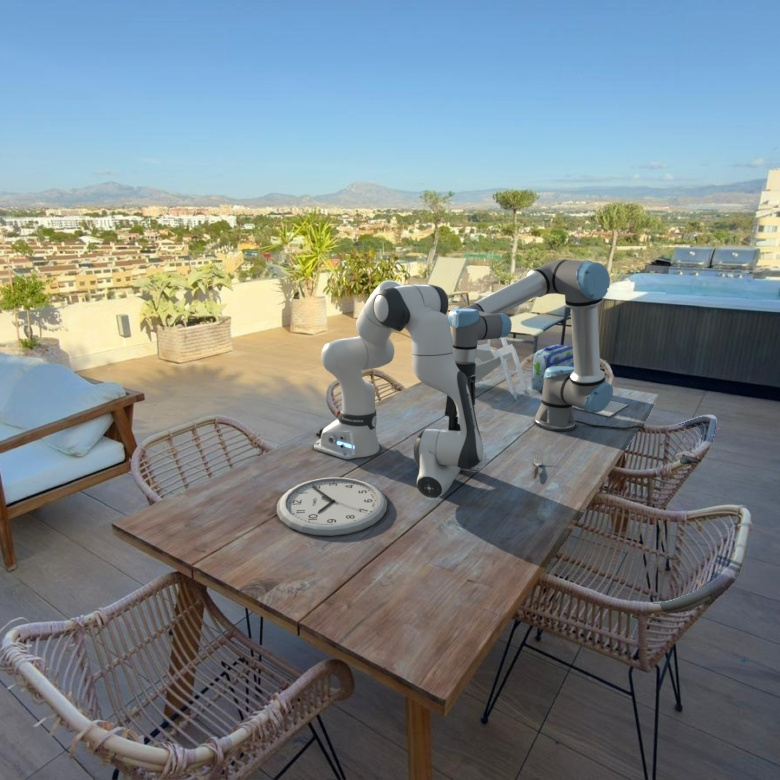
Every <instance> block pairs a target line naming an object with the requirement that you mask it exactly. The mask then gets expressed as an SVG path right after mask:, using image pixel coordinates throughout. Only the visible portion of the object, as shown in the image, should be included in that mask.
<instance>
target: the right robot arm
mask: <svg viewBox="0 0 780 780" xmlns="http://www.w3.org/2000/svg"><path fill="white" fill-rule="evenodd" d="M609 273H610V272H609V271H608V269H607V267H605V265H603V264H602V263H601V262H595V261H592V260H574V259H565V258H564V259H556V260H553V261H551V262H547V263H545V264H543V265H541V266H539V267H536V268H534V269H532V270H530V271H529V272H527V274H526V276H525V277H523V278H520V279H519V280H517V281H515V282H513V283H510V284H509V285H507V286H504V287H503V288H500V289H499V290H497V291H495V292H493V293H491V294H489V295H487V296H485V297H483V298H480V299H479V300H477V301H475V302H473V303H471V304H469V305H467V306H455V307H453V308H451V310H450V311H449V313H448V315H447V318H448V320H449V324H450V328H451V334H452V342H453V356H454V361H455V363H456V365H457V367H458V369H459V370H460V371H461V372H463V373H464V374H465V375H466V377H467V380H468V383H469V387H470V391H471V396H472V401H473V405H474V406H475V405H476V383H475V380H476V376H473V375H474V374H475V369H476V363H475V361H476V356H477V346H478V342H479V341H485V340H486V341H488V340H499V339H501V338H503V337H506V338H507V337H508V336H509V335H510V334H511V331H512V325H513V323H512V320H511V317H510V316H509V315H508V314H507V312H508V311H511V310H513V309H514V308H516V307H518V306H520V305H523V304H525V303H526V302H528V301H530V300H532V299H534V298H542V297H544V296H547V295H551V294H552V295H553V294H555V295H563V296H564V303H565V306H567V307H568V308H569V309H570V322H571V324H570V325H571V337H572V338H571V339H572V340H571V341H572V347H573V357H574V367H569V366H555V367H549V368H547V369H546V370H545V374H544V378H543V379H544V380H543V390H542V391H541V402H540V405H539V407H538V410H537V411H536V413H535V416H534V424H535V425H536V426H537V427H539V428H542V429H544V430H549V431H556V432H567V431H572V430H574V429H575V428H576V423H577V424H582V425H585V426H589V427H595V428H604V429H605V428H606V429H615V430H623V431H624V430H631V429H632V430H633V429H637V428H639V429H641V430H642V431H646V428H645V427H643V426H641V425H632V426H627V427H621V426H611V425H602V424H593V423H588V422H584V421H581V420H578V419H576V418H575V417H576V416H575V413H574V407H578V408H581V409H584V410H585V411H584V410H583V411H584V412H588V411H589V412H588V413H592V412H593V414H596V413H597V412H600V411H602V410H603V409H605V408H606V407H607V405H608V404H609V402H610V401H612V398H613V395H614V388H613V385H611V383H609V382H607V381H606V373H605V372H604V371H603V370H602V369H601V357H600V355H601V353H600V331H599V307H598V306H599V305H600V304H601V303H602V302H603V298H604V297H605V296H606V295H607V294H608V291H609V290H608V289H610V286H611V285H610V284H611V278H610V274H609ZM444 416H445V417H448V429H447V430H452V431H457V427H458V414H457V409H456V405H455V403H454V401H453V400H452V398H451V397H449V396H448V395H447V394H446V401H445V411H444Z"/></svg>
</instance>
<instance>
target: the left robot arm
mask: <svg viewBox="0 0 780 780" xmlns="http://www.w3.org/2000/svg"><path fill="white" fill-rule="evenodd" d="M448 310H449V298H448V295H447V292H446V291H445V290H444V288H442V287H441V286H438V285H435V284H408V285H402V284H401V283H399V282H398V281H394V280H383V281H382V282H380V283H379V284H378V285H377V286H376V288H375V289H374V290H373V291H372V292H371V294H370V295H369V297H368V298H367V300H366V301H365V304H364V306H363V307H362V309H361V312H360V313H359V316H358V317H357V319H356V321H355V328H356V332H357V334H358V336H353V337H346V338H339V339H335V340H332V341H330V342H328V343H325V344H324V346H323V347H322V350H321V353H320V360H321V361H320V362H321V364H322V366H323V367H324V369H325V370H326V371H327V372H328V373H330V374H331V375H332V376H333V377H335V379H336V380H337V382H338V384H339V386H340V393H341V407H340V408H339V409H338V410H337V411H336V412H335V413H334V414H335V415H334V416H335V417H337V418H336V419H335V420H333V421H332V422H330V423H329V424H328V425H326V426H325V427H322V428H320V429H319V431H318V432H316V434H315V436H317V437H318V439H317V440H316V441H315V443H314V444H313V449H314V450H316V451H318V452H320V453H324V454H328V455H331V456H334V457H338V458H341V459H344V460H352V459H356V458H366V457H371V456H374V455H376V454H377V453H379V452H380V449H381V448H380V445H379V441H378V436H377V427H376V426H377V408H376V389H375V387H374V385H373V384H372V383H371V382H369V381H368V380H365V379H363V375H362V373H363V371H367V370H372V369H378V368H381V367H384V366H386V365H388V364H390V363H391V362H392V361H393V359H394V357H395V346H394V343H393V342H392V340H391V338H390V337H391V335H392V333H393V331H394V330H395V331H396V332H402V331H403V330H404V329H405V330H406V331H407V332H408V333H409V334H410V335H409V336H410V340H411V344H410V345H411V347H410V349H411V365H412V370H413V373H414V375H415V377H416V378H417V379H418V381H420V382H421V383H422V384H424V385H425V386H427V387H429V388H430V389H431V388H432V389H434V390H437V391H439V392H440V393H443V394H445V395H446V396H447V395H448V396H449V397H451V398H452V400H453V401H454V403H455V405H456V409H457V417H458V419H459V424H460V429H461V431H452V430H448V429H439V428H438V429H437V428H425V429H423V430H422V431H421V432H420V433H419V434H418V435H417V437H416V439H415V441H414V445H413V457H414V461H415V464H416V466H417V468H418V470H419V471H418V475H417V478H416V487H417V490H418V491H419V493H420V494H421V495H423V496H424V497H426V498H431V499H437V498H440V497H442V496H443V495H444V494H446V492H447V491H448V490H449V489H450V488H451V486H452V485H453V482H454V481H455V480H456V478H457V477H458V475H459V474H460V472H461V471H460V470H463V471H467V472H472V473H478V472H481V471H483V469H484V467H485V466H486V464H487V454H486V453H484V444H483V440H482V436H481V433H480V430H479V429H480V428H479V426H478V421H477V416H476V410H475V405H473V401H472V396H471V391H470V387H469V383H468V380H467V377H466V375H465V374H464V373H463V372H461V371H460V370H459V369H458V367H457V365H456V363H455V361H454V356H453V342H452V328H451V326H450V324H449V320H448V315H447V313H448ZM319 437H320V438H319Z"/></svg>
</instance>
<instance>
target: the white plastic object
mask: <svg viewBox="0 0 780 780" xmlns="http://www.w3.org/2000/svg"><path fill="white" fill-rule="evenodd" d="M500 342H501V345H502V347H500V348H498V349H496V350H495V349H493V348H492V347H491V346H490V344H489V343H488V342H487V343H483V344H479V345H478V344H477V356H476V361H475V363H476V369H475V374H474V375H473V376H476V380H475V384H477V383H480V382H482V381H484V378H485V377H486V376H487V375H489V374H490V373H492V372H494V371H495V370H496V369H497V368H499V367H500V366H502V370H503V373H504V376H505V380H506V383H507V386H508V390H509V393H510V394H511V395H512V397H513V398H514V399H515V400H517V392H516V391H517V390H516V388H515V385H514V381H513V378H512V375H511V371H510V369H509V365H508V361H510V360H513V363H514V366H515V369H516V372H517V376H518V380H519V382H520V385H521V389H522V391H523V393H524V395H525V396H526V397H528V396H531V395H530V390H529V388H528V387H529V386H528V384H527V381H526V378H525V375H524V371H523V369H522V368H523V367H522V366H521V362H520V359H519V355H518V352H517V349H516V347H515V346H514V345H513V343H511V344H508V341H507V336H506V337H503V338H500Z"/></svg>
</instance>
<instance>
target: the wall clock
mask: <svg viewBox="0 0 780 780" xmlns="http://www.w3.org/2000/svg"><path fill="white" fill-rule="evenodd" d="M387 509H388V500H387V498H386V496H385V494H384V493H383V492H382V491H381V490H380V489H379V488H377V487H376V486H374V485H372V484H371V483H369V482H365V481H362V480H359V479H355V478H349V477H338V476H337V477H335V476H333V477H332V476H331V477H322V478H317V479H312V480H307V481H305V482H302V483H299V484H297V485H295V486H293V487H292V488H290V489H288V490H287V491H286V492H285V493H284V494H283V495H281V496H280V498H279V499H278V502H277V503H276V515H277V517H278V518H279V520H280V521H281V522H282V523H283V524H285V525H286V526H287V527H288V528H290V529H293V530H295V531H297V532H299V533H303V534H308V535H312V536H327V537H328V536H329V537H331V536H332V537H333V536H342V535H350V534H352V533H356V532H361V531H363V530H366V529H368V528H369V527H372V526H373V525H375V524H376V523H378V522H379V521H380V520H381V519H382V518H383V517H384V516H385V514H386V512H387Z"/></svg>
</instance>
